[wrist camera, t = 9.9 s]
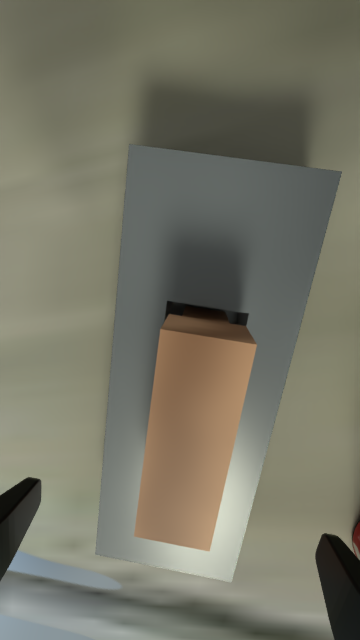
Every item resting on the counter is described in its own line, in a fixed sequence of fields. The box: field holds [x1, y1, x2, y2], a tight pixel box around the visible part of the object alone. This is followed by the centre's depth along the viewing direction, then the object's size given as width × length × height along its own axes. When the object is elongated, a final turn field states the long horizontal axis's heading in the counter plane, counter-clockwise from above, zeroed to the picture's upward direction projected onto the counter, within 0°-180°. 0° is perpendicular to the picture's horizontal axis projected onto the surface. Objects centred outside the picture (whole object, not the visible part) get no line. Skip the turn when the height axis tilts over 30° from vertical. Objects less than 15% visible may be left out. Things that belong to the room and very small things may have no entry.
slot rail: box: [95, 144, 342, 582], centre depth 16 cm, size 9×24×4 cm, turn 172°
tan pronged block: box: [134, 306, 257, 552], centre depth 14 cm, size 4×10×6 cm, turn 172°
